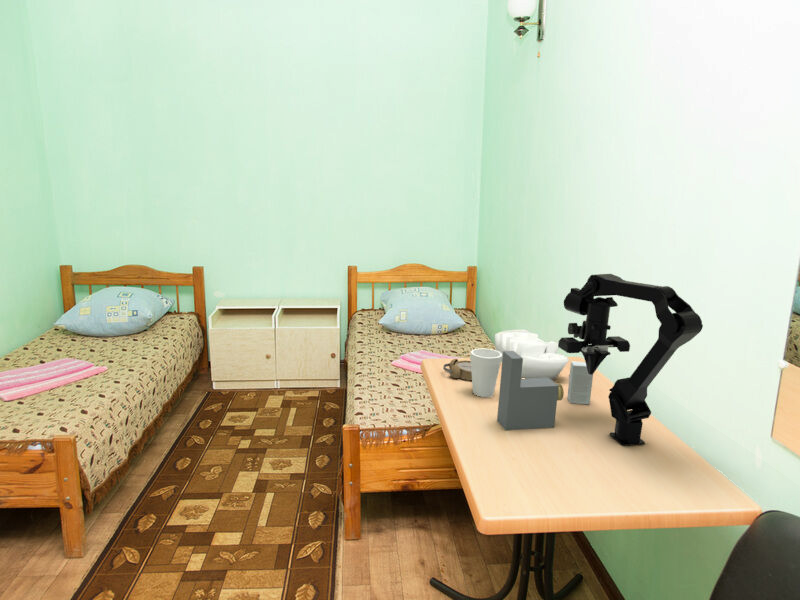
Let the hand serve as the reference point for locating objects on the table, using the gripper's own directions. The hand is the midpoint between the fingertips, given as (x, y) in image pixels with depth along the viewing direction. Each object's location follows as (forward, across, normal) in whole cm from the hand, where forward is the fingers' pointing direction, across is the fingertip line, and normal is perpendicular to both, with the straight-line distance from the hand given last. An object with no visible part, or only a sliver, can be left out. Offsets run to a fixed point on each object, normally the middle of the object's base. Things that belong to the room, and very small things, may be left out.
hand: (590, 374), depth 157 cm
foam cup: (+13, +23, -20) cm, 33 cm away
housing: (+13, +19, +2) cm, 23 cm away
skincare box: (+13, -4, -11) cm, 18 cm away
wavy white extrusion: (+13, -1, -42) cm, 44 cm away
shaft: (+6, +16, +2) cm, 18 cm away
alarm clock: (+13, +23, -36) cm, 45 cm away
